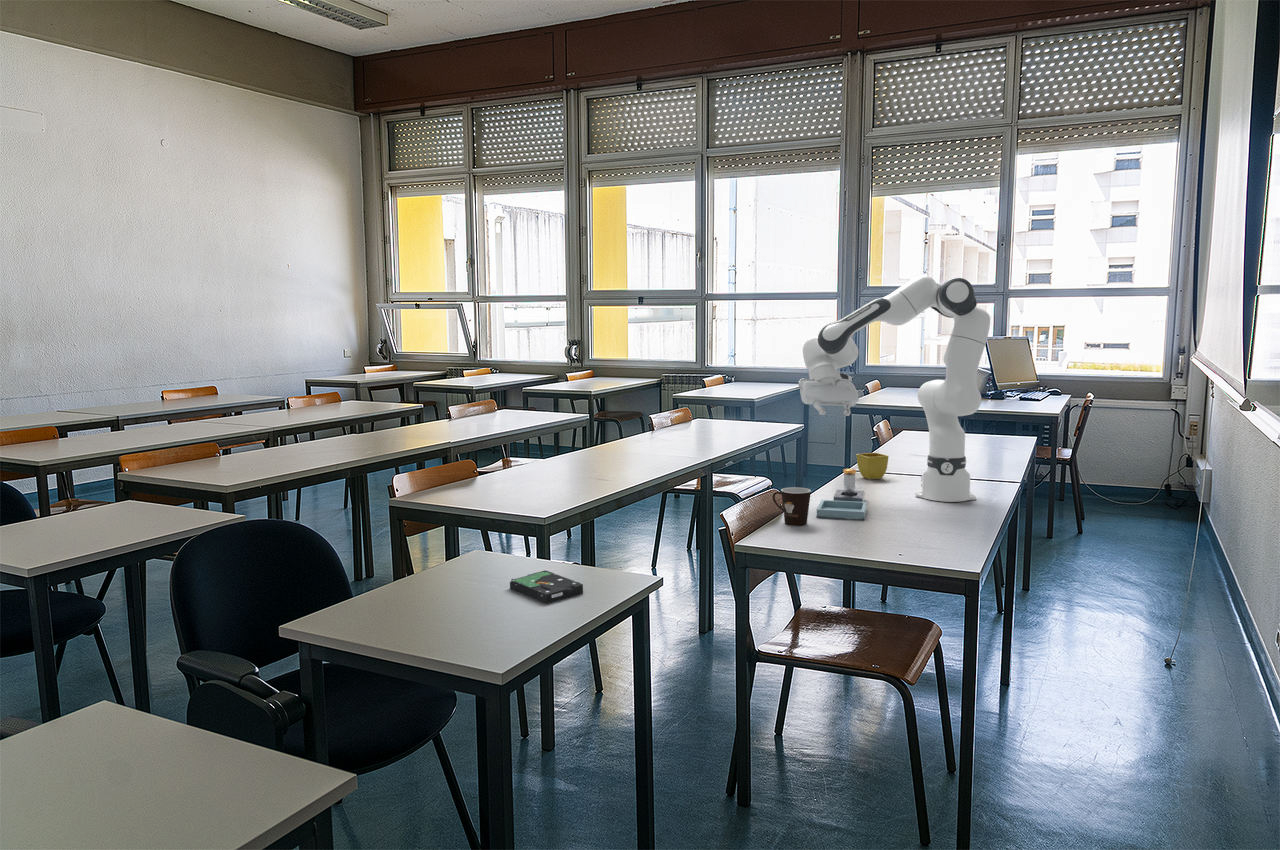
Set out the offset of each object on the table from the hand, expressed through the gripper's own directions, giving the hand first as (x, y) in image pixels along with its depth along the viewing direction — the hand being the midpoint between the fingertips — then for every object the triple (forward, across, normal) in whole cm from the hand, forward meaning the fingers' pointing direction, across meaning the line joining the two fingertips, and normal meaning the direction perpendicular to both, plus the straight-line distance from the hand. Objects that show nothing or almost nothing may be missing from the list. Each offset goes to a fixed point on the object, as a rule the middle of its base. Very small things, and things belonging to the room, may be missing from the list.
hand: (835, 414), depth 278 cm
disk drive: (+67, -108, -21) cm, 128 cm away
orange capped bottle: (+26, +4, +13) cm, 29 cm away
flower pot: (+3, +35, +37) cm, 51 cm away
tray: (+34, -6, +4) cm, 35 cm away
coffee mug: (+38, -25, +2) cm, 46 cm away
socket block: (+26, +4, +13) cm, 29 cm away
